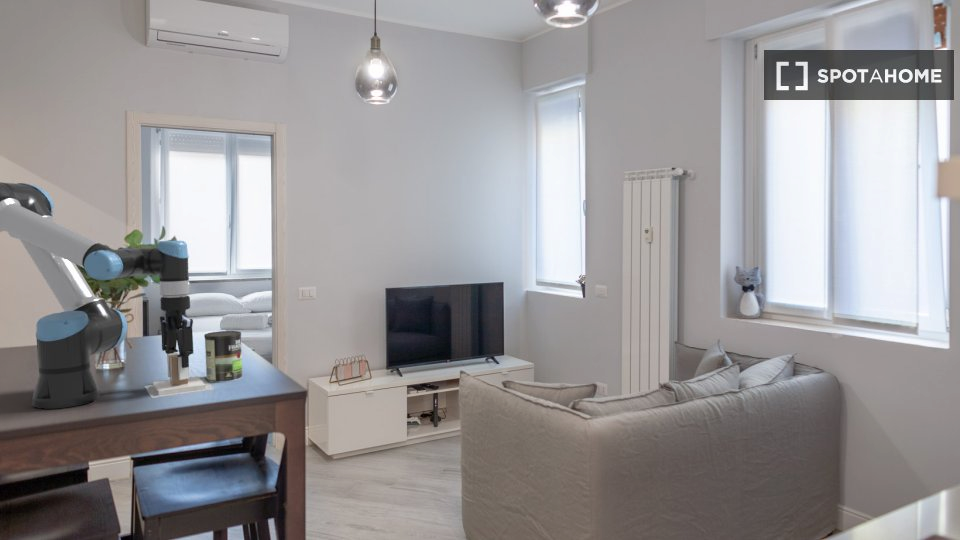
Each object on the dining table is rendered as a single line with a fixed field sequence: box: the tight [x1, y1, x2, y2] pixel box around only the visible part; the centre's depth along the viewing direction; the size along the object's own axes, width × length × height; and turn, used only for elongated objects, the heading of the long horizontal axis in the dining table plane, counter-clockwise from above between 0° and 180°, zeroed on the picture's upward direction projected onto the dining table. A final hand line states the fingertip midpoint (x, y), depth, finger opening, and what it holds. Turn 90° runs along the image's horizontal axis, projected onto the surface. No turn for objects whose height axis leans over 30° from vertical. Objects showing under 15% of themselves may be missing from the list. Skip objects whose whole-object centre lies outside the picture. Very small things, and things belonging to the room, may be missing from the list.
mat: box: [144, 377, 216, 399], centre depth 188 cm, size 16×16×1 cm
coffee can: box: [203, 330, 243, 383], centre depth 199 cm, size 10×10×14 cm
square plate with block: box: [152, 353, 206, 395], centre depth 187 cm, size 12×12×9 cm
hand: (178, 377), depth 188 cm, fingers closed on square plate with block, 5 cm apart
